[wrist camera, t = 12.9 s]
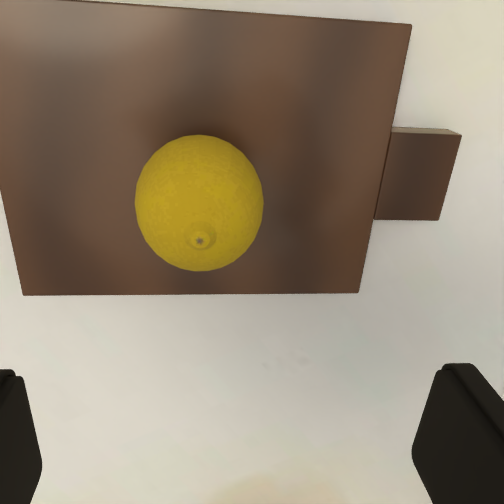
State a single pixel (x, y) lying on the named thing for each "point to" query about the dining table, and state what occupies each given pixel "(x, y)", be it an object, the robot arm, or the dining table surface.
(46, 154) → the cutting board
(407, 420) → the dining table surface
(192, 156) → the lemon
